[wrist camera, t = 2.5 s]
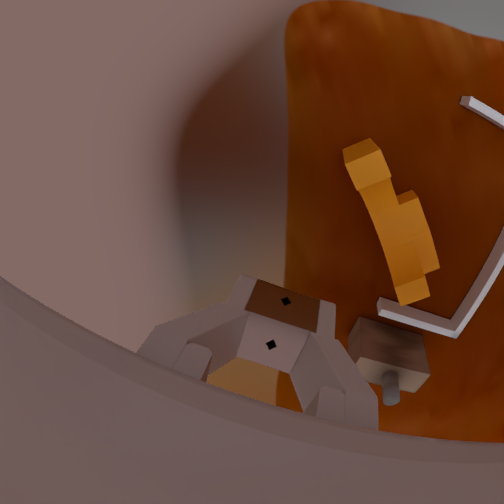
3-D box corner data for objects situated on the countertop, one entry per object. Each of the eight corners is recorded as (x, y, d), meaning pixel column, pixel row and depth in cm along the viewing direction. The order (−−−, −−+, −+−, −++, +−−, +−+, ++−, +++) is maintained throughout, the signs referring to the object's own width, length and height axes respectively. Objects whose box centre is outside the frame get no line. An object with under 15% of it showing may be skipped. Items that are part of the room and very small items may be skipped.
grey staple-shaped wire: (541, 146, 19) (552, 150, 17) (452, 326, 29) (456, 338, 28) (462, 96, 20) (471, 96, 18) (376, 302, 31) (378, 315, 29)
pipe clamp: (431, 250, 27) (450, 288, 21) (390, 266, 29) (400, 306, 23) (388, 129, 23) (404, 139, 18) (342, 149, 25) (344, 164, 19)
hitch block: (421, 335, 31) (434, 398, 23) (408, 353, 32) (417, 415, 25) (359, 316, 32) (360, 381, 24) (348, 335, 33) (345, 400, 26)
